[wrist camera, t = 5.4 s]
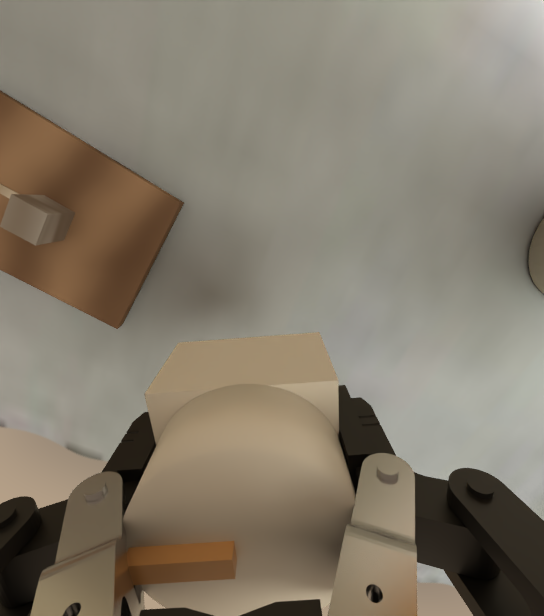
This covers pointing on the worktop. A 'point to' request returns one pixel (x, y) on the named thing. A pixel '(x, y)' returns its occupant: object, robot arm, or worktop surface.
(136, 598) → the robot arm
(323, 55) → the worktop surface
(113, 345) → the worktop surface
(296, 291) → the worktop surface
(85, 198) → the plate
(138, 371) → the worktop surface
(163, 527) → the knob
